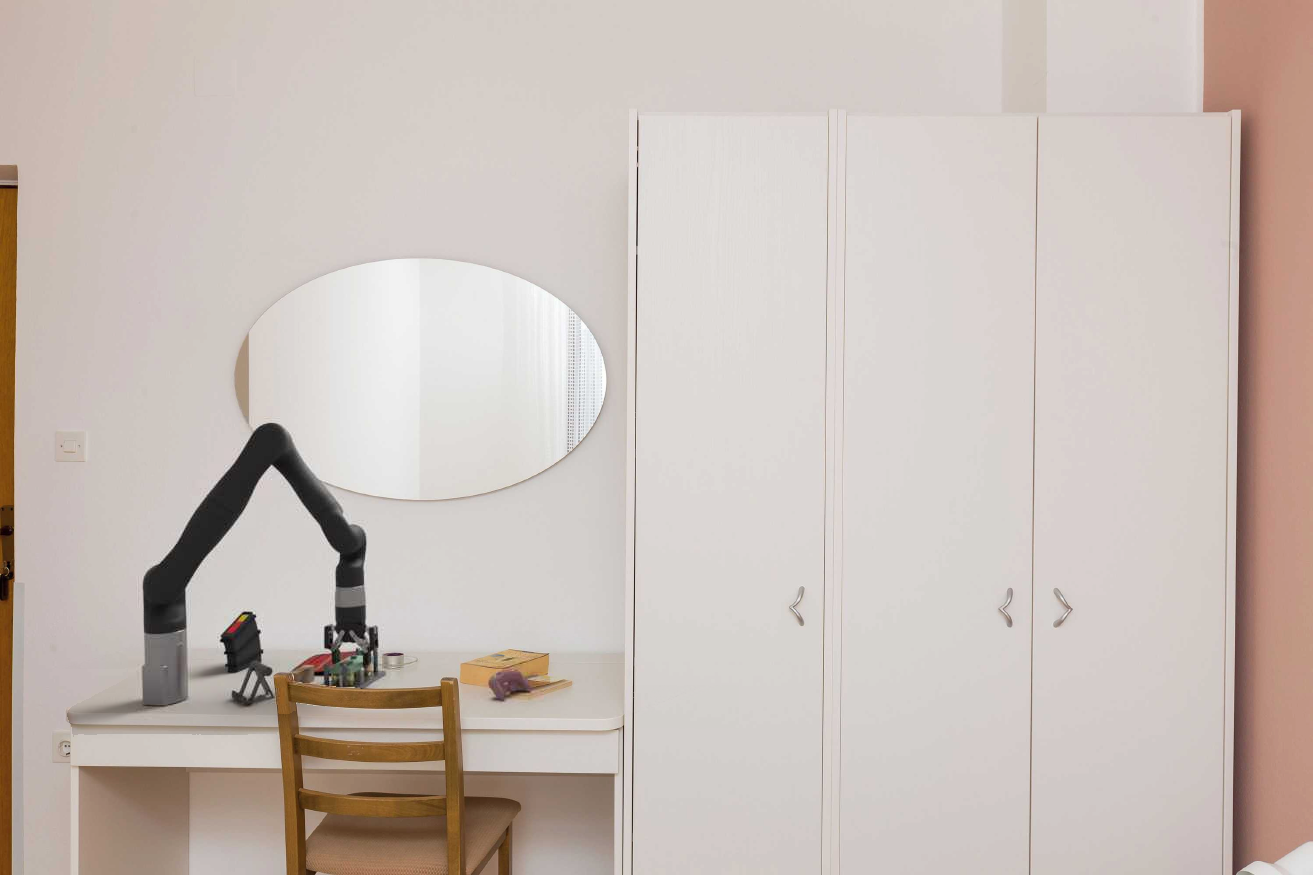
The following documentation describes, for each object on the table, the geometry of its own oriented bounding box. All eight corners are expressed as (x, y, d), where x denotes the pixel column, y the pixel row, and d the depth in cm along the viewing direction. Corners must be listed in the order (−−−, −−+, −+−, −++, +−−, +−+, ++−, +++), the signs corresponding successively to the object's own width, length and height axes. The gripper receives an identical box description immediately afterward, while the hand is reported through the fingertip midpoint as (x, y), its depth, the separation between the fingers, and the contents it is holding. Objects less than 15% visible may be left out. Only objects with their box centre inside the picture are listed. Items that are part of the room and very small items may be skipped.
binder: (370, 648, 266) (347, 668, 245) (370, 656, 266) (347, 677, 245) (314, 652, 266) (286, 672, 245) (314, 660, 266) (287, 681, 245)
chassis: (352, 693, 228) (352, 665, 228) (316, 691, 230) (315, 664, 230) (385, 674, 245) (385, 648, 245) (351, 673, 247) (350, 647, 247)
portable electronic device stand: (231, 699, 225) (230, 665, 225) (263, 692, 231) (262, 659, 231) (244, 707, 219) (244, 672, 219) (278, 699, 225) (277, 665, 224)
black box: (270, 653, 263) (254, 610, 256) (243, 685, 251) (226, 641, 245) (258, 652, 263) (242, 610, 257) (231, 684, 252) (214, 640, 245)
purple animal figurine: (522, 694, 231) (513, 668, 232) (533, 689, 228) (524, 662, 230) (491, 704, 223) (482, 677, 225) (502, 699, 220) (493, 671, 222)
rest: (296, 689, 233) (296, 673, 233) (288, 688, 233) (287, 673, 233) (314, 680, 241) (314, 664, 241) (306, 679, 241) (305, 664, 241)
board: (350, 674, 231) (349, 665, 231) (328, 673, 232) (328, 664, 232) (373, 661, 243) (373, 652, 243) (352, 661, 244) (352, 652, 244)
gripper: (317, 605, 235) (318, 668, 235) (368, 606, 232) (370, 670, 232) (332, 599, 242) (334, 661, 242) (383, 600, 239) (384, 663, 240)
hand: (351, 665), depth 237 cm, fingers open, 8 cm apart
